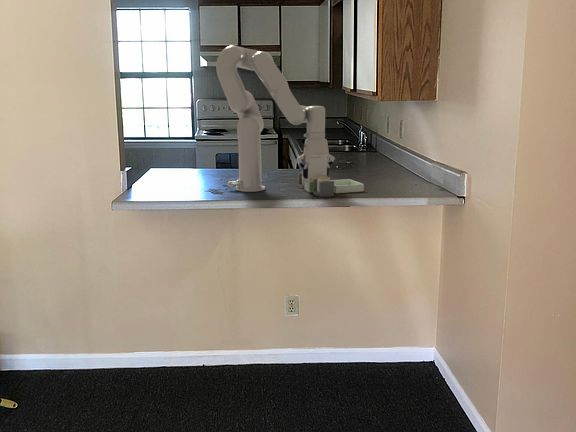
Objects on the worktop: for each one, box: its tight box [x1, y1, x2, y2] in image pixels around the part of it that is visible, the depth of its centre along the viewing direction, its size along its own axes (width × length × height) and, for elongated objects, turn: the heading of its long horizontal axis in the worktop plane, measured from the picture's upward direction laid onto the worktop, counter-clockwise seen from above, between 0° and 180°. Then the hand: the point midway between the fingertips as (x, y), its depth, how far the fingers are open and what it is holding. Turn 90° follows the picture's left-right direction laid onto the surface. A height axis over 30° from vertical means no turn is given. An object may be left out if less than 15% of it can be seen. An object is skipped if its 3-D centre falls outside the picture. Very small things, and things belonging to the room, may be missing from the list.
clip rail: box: [297, 172, 335, 198], centre depth 259 cm, size 7×26×6 cm, turn 19°
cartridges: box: [301, 169, 331, 193], centre depth 259 cm, size 4×22×7 cm, turn 19°
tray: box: [330, 178, 365, 194], centre depth 262 cm, size 13×14×3 cm
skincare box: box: [303, 155, 327, 193], centre depth 258 cm, size 8×7×16 cm
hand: (315, 177), depth 258 cm, fingers closed on skincare box, 8 cm apart
